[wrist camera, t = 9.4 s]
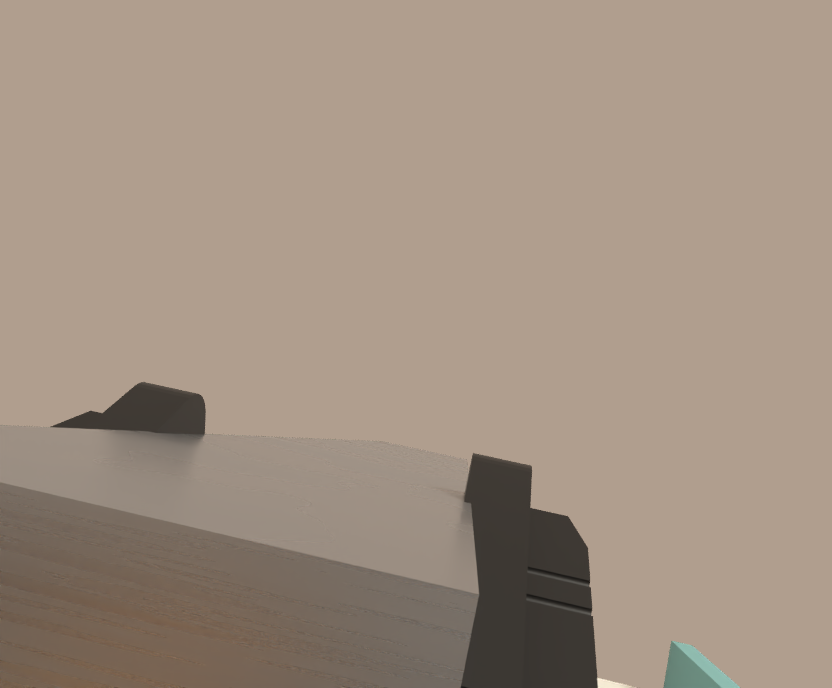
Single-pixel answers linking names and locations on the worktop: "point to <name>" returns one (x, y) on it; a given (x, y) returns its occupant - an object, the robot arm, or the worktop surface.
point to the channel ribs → (693, 670)
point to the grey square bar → (231, 562)
